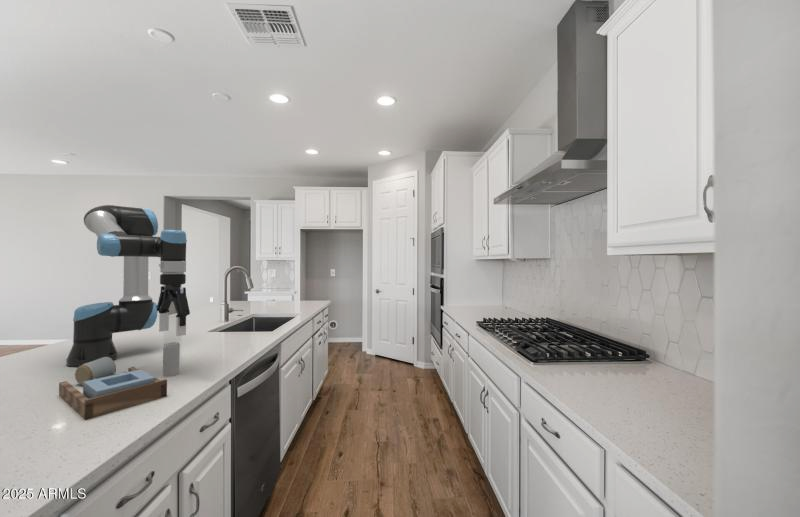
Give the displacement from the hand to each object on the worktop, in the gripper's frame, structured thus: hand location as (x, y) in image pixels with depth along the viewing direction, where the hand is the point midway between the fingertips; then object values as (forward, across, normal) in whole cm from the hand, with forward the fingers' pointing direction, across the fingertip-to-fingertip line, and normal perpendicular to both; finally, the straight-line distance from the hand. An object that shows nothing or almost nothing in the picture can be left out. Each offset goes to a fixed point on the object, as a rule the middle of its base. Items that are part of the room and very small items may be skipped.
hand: (172, 333), depth 117 cm
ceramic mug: (+16, -15, -16) cm, 27 cm away
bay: (+16, +6, -18) cm, 25 cm away
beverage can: (+16, 0, 0) cm, 16 cm away
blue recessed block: (+15, +12, -18) cm, 26 cm away
